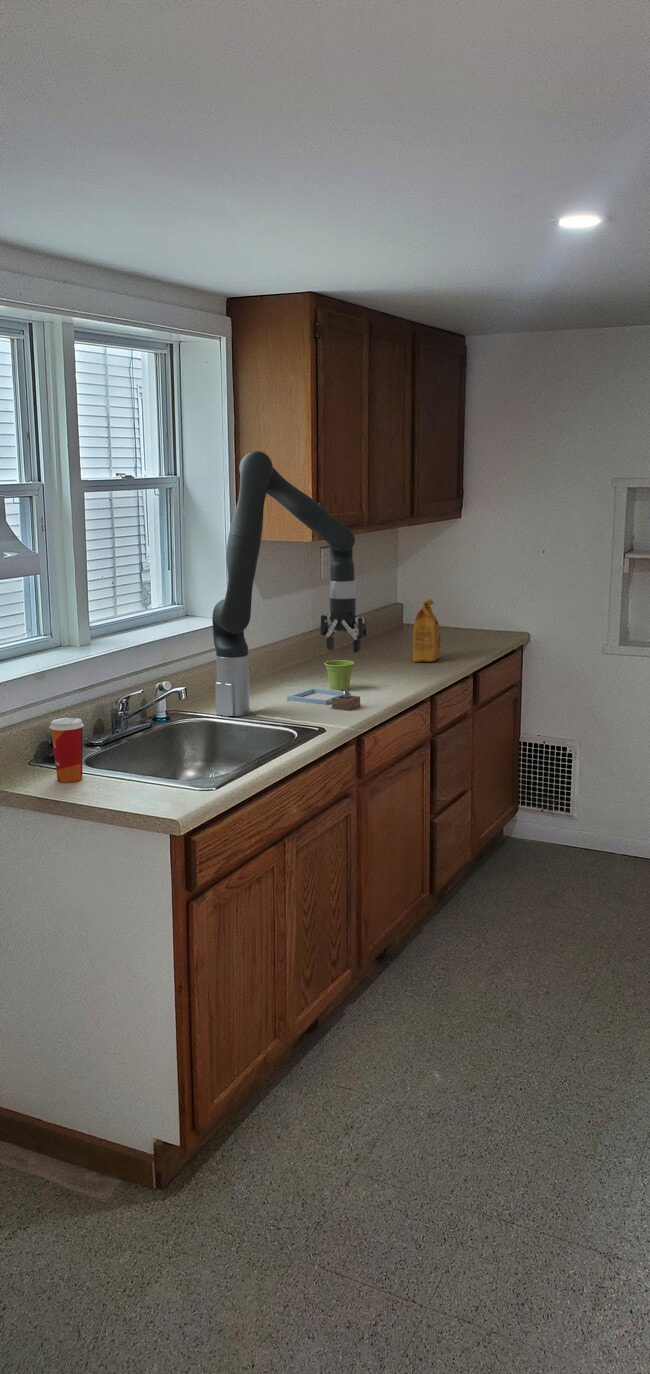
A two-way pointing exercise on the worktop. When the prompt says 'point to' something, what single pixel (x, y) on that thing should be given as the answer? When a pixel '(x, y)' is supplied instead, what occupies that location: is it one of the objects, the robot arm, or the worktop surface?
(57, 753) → the paper cup
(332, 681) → the plant pot
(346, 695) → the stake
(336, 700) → the brown hollow rectangular frame
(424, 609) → the coffee package
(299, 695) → the tray
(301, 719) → the worktop surface
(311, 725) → the worktop surface
